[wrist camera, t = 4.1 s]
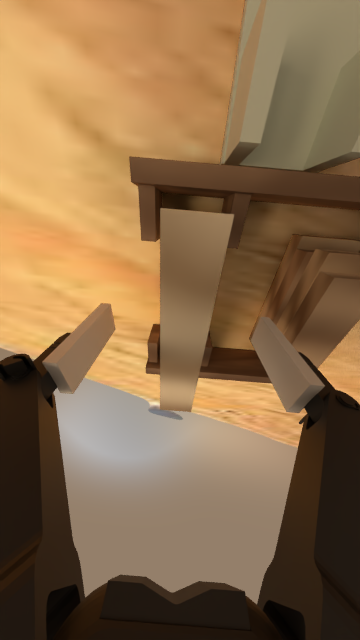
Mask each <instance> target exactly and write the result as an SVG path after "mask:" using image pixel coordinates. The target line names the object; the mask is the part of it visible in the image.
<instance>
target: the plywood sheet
mask: <svg viewBox="0 0 360 640" xmlns="http://www.w3.org/2000/svg"><path fill="white" fill-rule="evenodd" d="M233 218H234V214H224V213H213V212H201V211H190V210H178V209H167V208H160V409H161V410H174V411H187V412H191V409H192V404H193V399H194V395H195V390H196V386H197V381H198V377H199V372H200V368H201V363H202V359H203V354H204V350H205V345H206V341H207V336H208V332H209V327H210V322H211V318H212V313H213V309H214V304H215V300H216V295H217V291H218V286H219V282H220V277H221V273H222V268H223V264H224V259H225V255H226V250H227V245H228V241H229V236H230V232H231V227H232V223H233Z"/></svg>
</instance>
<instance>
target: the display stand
mask: <svg viewBox="0 0 360 640" xmlns="http://www.w3.org/2000/svg"><path fill="white" fill-rule="evenodd" d="M357 158H360V0H245V5H244V11H243V18H242V24H241V31H240V37H239V44H238V50H237V57H236V63H235V69H234V76H233V82H232V89H231V95H230V102H229V108H228V115H227V121H226V128H225V134H224V141H223V147H222V154H221V160H220V165H230V166H241V167H253V168H264V169H275V170H286V171H298V172H309V173H319V172H320V171H322V170H325V169H328V168H330V167H333V166H336V165H339V164H342V163H345V162H348V161H351V160H354V159H357Z"/></svg>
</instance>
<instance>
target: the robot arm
mask: <svg viewBox="0 0 360 640" xmlns="http://www.w3.org/2000/svg"><path fill="white" fill-rule="evenodd" d="M114 331H115V324H114V319H113V314H112V309H111V304H106V303H101V304H100V305H99V306H98V307H97V308H96V309H95V310H94V311H93V312H92V313H91V314H90V315H89V316H88V317H87V318H86V319H85V320H84V321H83V322H82V323H81V324H80V325H79V326H78V327H77V328H76V329H75V330H74V331H73V332H72V333H66V334H64V335H63V336H61V337H59V338H58V339H57V340H56V341H55V342H54V344H52V345H51V346H50V347H49V348H47V349H46V350H45V351H44V352H43V353H42V354H41V355H40V356H39V357H38V358H37V359H35V360H34V361H32V360H31V358H30V357H29V355H27V354H17V355H13V356H10V357H7V358H5V359H4V360H2V361H0V640H360V405H359V403H358V402H357V401H356V400H355V399H353V398H352V397H351V396H349V395H348V394H346V393H344V392H341V391H338V390H335V389H334V387H333V386H332V385H331V384H330V383H329V382H328V380H327V379H326V378H325V377H324V376H323V375H322V373H321V372H320V371H319V370H318V369H317V368H316V366H315V365H313V363H312V362H311V361H310V359H309V358H308V357H306V356H305V355H304V354H302V353H301V352H297V351H296V350H295V348H294V347H293V346H292V345H291V343H290V342H289V341H288V340H287V339H286V337H285V336H284V335H283V334H282V332H281V331H280V330H279V329H278V327H277V326H276V325H275V324H274V323H273V321H272V320H271V319H270V318H269V317H260V319H259V322H258V324H257V327H256V329H255V331H254V334H253V336H252V338H251V343H252V345H253V347H254V349H255V351H256V353H257V355H258V357H259V359H260V360H261V362H262V364H263V366H264V368H265V370H266V372H267V374H268V376H269V378H270V380H271V382H272V384H273V386H274V388H275V390H276V392H277V394H278V396H279V398H280V400H281V402H282V404H283V406H284V408H285V410H286V412H294V413H299V412H300V411H301V410H302V409H303V408H305V410H306V411H307V414H306V415H305V416H304V417H303V418H302V419H301V420H300V422H299V424H302V423H303V422H304V423H303V428H302V432H301V437H300V441H299V446H298V451H297V455H296V460H295V464H294V469H293V474H292V478H291V483H290V487H289V492H288V497H287V501H286V506H285V510H284V515H283V520H282V524H281V528H280V533H279V537H278V542H277V546H276V551H275V555H274V558H273V560H272V562H271V564H270V565H269V567H268V568H267V571H266V573H265V575H264V579H263V582H262V586H261V590H260V595H259V599H258V603H257V604H255V603H254V602H253V601H252V600H250V599H249V598H248V597H247V596H245V591H242V590H239V589H237V588H235V587H232V586H230V585H227V584H225V583H215V582H202V581H199V582H196V583H194V584H192V585H190V586H187V587H185V588H183V589H181V590H178V591H176V592H174V593H171V592H169V591H167V590H166V589H164V588H163V587H161V586H159V585H158V584H156V583H155V582H153V581H152V580H150V579H148V578H147V577H141V576H129V575H119V576H117V577H115V578H112V579H110V580H109V581H108V583H106V584H104V585H102V586H101V587H99V588H97V589H96V590H94V591H93V592H92V593H90V594H89V595H88V596H87V597H86V598H85V594H84V587H83V580H82V574H81V566H80V560H79V557H78V553H77V551H76V548H75V546H74V543H73V538H72V530H71V523H70V515H69V506H68V498H67V491H66V483H65V475H64V467H63V459H62V451H61V444H60V435H59V427H58V419H57V411H56V403H55V396H54V394H53V392H54V391H55V389H56V388H58V389H59V391H60V393H69V394H73V393H74V392H75V390H76V389H77V387H78V386H79V384H80V383H81V381H82V380H83V378H84V377H85V375H86V373H87V372H88V370H89V369H90V367H91V366H92V364H93V363H94V361H95V360H96V358H97V357H98V355H99V354H100V352H101V351H102V349H103V348H104V346H105V344H106V343H107V341H108V340H109V338H110V337H111V335H112V334H113V332H114Z"/></svg>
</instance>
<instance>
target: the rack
mask: <svg viewBox="0 0 360 640" xmlns="http://www.w3.org/2000/svg"><path fill="white" fill-rule="evenodd" d="M129 159H130V172H131V182H132V183H134V184H135V185H137V186H138V189H139V206H140V223H141V240H142V241H154V242H156V241H157V240H158V239H160V208H162V193H169V194H181V195H192V196H203V197H215V198H224V203H223V208H222V213H224V214H234V218H233V223H232V227H231V232H230V236H229V241H228V245H227V248H236V249H238V246H239V242H240V238H241V234H242V230H243V226H244V223H245V219H246V215H247V211H248V207H249V203H250V201H261V202H272V203H283V204H295V205H306V206H318V207H329V208H340V209H352V210H360V177H354V176H343V175H331V174H320V173H309V172H298V171H286V170H275V169H264V168H253V167H241V166H230V165H219V164H208V163H196V162H185V161H174V160H163V159H151V158H140V157H129ZM260 317H269V318H270V319H271V320H272V321H273V323H274V324H275V325H276V326H277V327H278V329H279V330H280V331H281V332H282V334H283V335H284V336H285V337H286V339H287V340H288V341H289V342H290V343H291V345H292V346H293V347H294V348H295V350H296V351H297V352H301V353H302V354H304V355H305V356H306V357H308V358H309V359H310V361H311V362H312V363H313V365H315V366H316V368H318V367H319V366H320V365H321V364H322V362H323V361H324V360H325V359H326V358H327V357H328V356H329V354H330V353H331V352H332V351H333V350H334V349H335V347H336V346H337V345H338V344H339V343H340V342H341V340H342V339H343V338H344V337H345V336H346V335H347V333H348V332H349V331H350V330H351V329H352V328H353V326H354V325H355V324H356V323H357V322H358V321H359V319H360V241H358V240H351V239H340V238H329V237H317V236H306V235H294V234H293V235H292V237H291V240H290V242H289V245H288V247H287V249H286V252H285V254H284V257H283V259H282V261H281V264H280V266H279V269H278V271H277V273H276V276H275V278H274V280H273V283H272V285H271V288H270V290H269V292H268V295H267V297H266V300H265V302H264V304H263V307H262V309H261V312H260V314H259V316H258V319H257V321H256V323H255V326H254V328H253V331H252V333H251V335H250V338H249V339H250V341H251V338H252V336H253V334H254V331H255V329H256V327H257V324H258V322H259V319H260ZM146 373H147V374H160V325H156V324H153V327H152V330H151V333H150V337H149V340H148V361H147V365H146ZM198 378H210V379H222V380H235V381H247V382H260V383H272V382H271V380H270V378H269V376H268V374H267V372H266V370H265V368H264V366H263V364H262V362H261V360H260V359H259V357H258V355H257V353H256V351H252V350H239V349H227V348H215V347H212V344H211V338H210V333H209V332H208V336H207V341H206V345H205V350H204V354H203V359H202V363H201V368H200V372H199V377H198Z"/></svg>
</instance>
